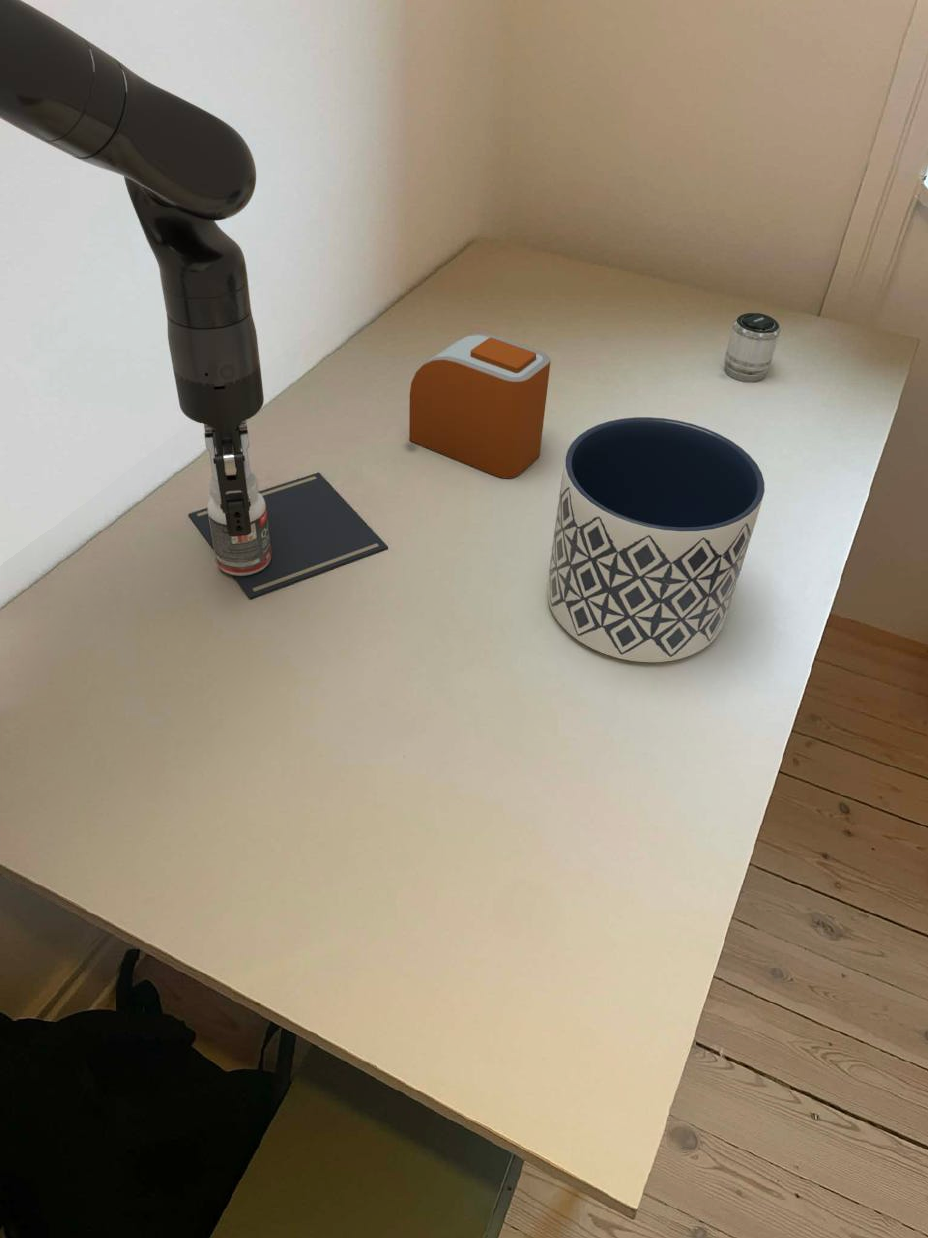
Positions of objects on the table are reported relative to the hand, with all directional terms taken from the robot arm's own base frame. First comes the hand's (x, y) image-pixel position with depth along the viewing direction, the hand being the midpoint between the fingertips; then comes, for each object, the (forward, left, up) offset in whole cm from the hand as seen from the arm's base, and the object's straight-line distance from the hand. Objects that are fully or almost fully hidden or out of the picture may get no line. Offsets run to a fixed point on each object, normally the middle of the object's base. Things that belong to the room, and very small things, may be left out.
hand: (237, 507), depth 96 cm
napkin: (+4, +5, -7) cm, 9 cm away
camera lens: (+65, +41, -7) cm, 77 cm away
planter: (+40, -7, -7) cm, 41 cm away
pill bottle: (0, 0, -7) cm, 7 cm away
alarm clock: (+26, +22, -7) cm, 35 cm away
